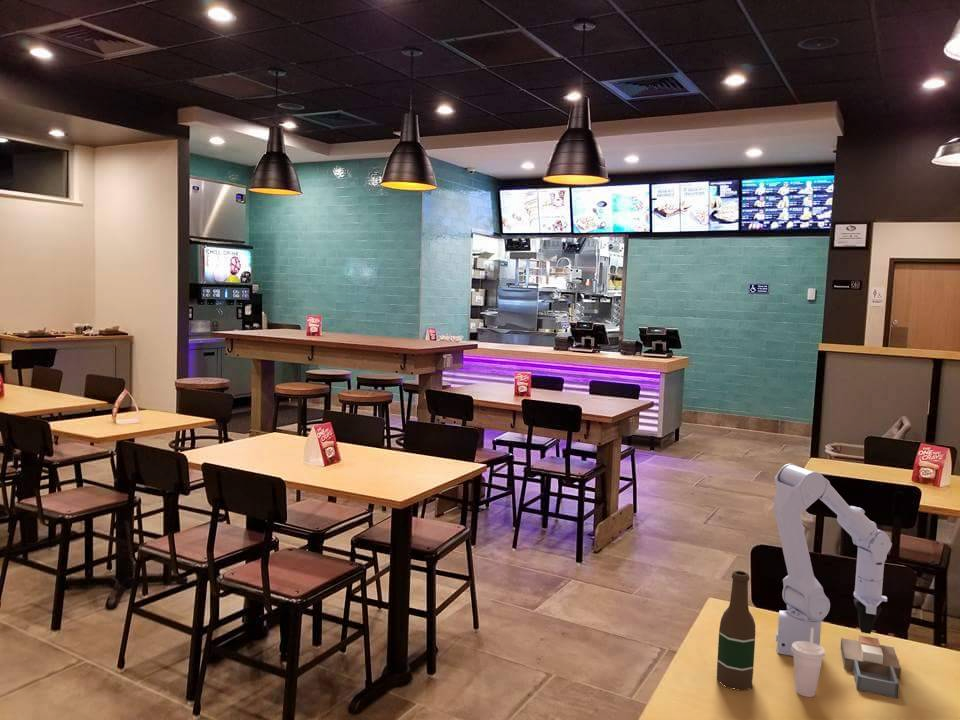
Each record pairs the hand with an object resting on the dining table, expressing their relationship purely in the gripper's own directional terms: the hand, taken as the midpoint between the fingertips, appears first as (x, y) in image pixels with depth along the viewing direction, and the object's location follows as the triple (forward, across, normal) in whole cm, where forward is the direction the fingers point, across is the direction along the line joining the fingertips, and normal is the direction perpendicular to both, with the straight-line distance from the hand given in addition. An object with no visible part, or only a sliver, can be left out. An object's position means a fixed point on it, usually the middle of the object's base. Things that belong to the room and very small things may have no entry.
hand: (865, 632), depth 175 cm
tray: (+3, -20, 0) cm, 20 cm away
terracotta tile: (+1, -8, 0) cm, 8 cm away
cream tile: (+1, -12, 0) cm, 13 cm away
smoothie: (+4, -30, +14) cm, 33 cm away
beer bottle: (+4, -32, +28) cm, 43 cm away
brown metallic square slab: (+3, -10, 0) cm, 10 cm away
